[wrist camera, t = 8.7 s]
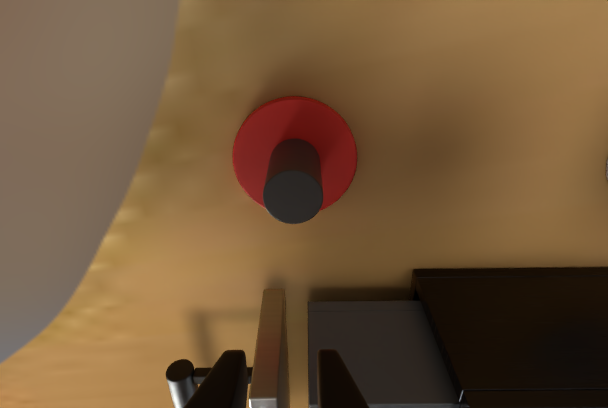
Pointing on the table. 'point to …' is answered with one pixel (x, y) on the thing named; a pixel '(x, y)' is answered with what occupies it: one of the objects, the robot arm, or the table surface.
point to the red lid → (294, 157)
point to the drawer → (342, 355)
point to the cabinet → (520, 334)
